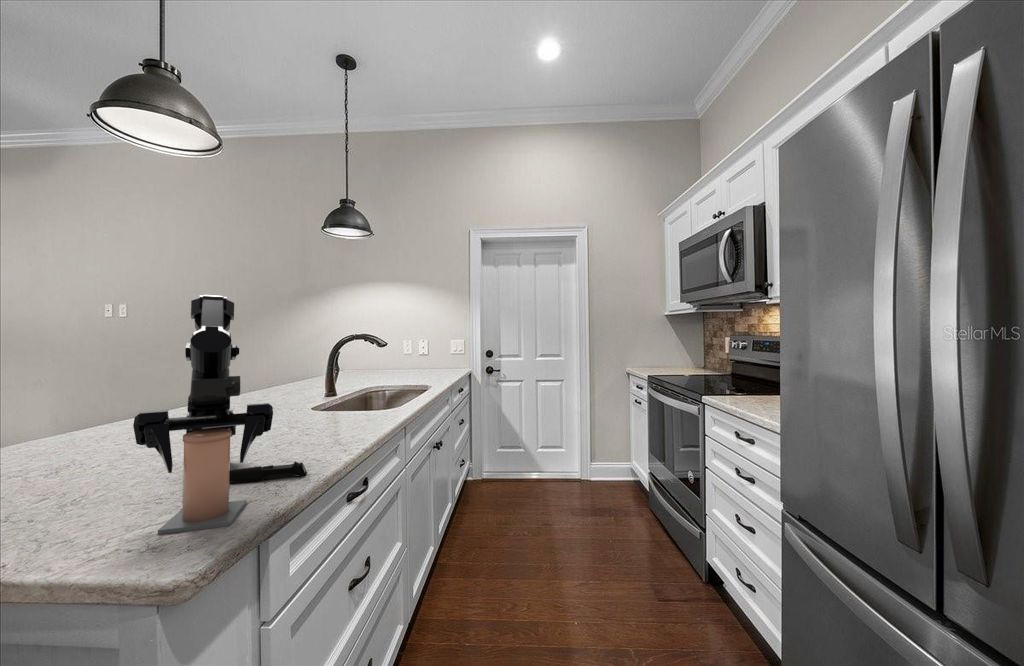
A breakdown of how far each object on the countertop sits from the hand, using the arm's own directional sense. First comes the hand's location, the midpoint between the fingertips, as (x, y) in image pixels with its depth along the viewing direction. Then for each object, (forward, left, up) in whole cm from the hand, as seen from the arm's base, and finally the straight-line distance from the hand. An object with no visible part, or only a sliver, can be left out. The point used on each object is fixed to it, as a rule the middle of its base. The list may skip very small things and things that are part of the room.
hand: (207, 466), depth 65 cm
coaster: (0, 0, -8) cm, 8 cm away
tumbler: (0, -1, -8) cm, 8 cm away
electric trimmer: (-4, -18, -9) cm, 21 cm away
